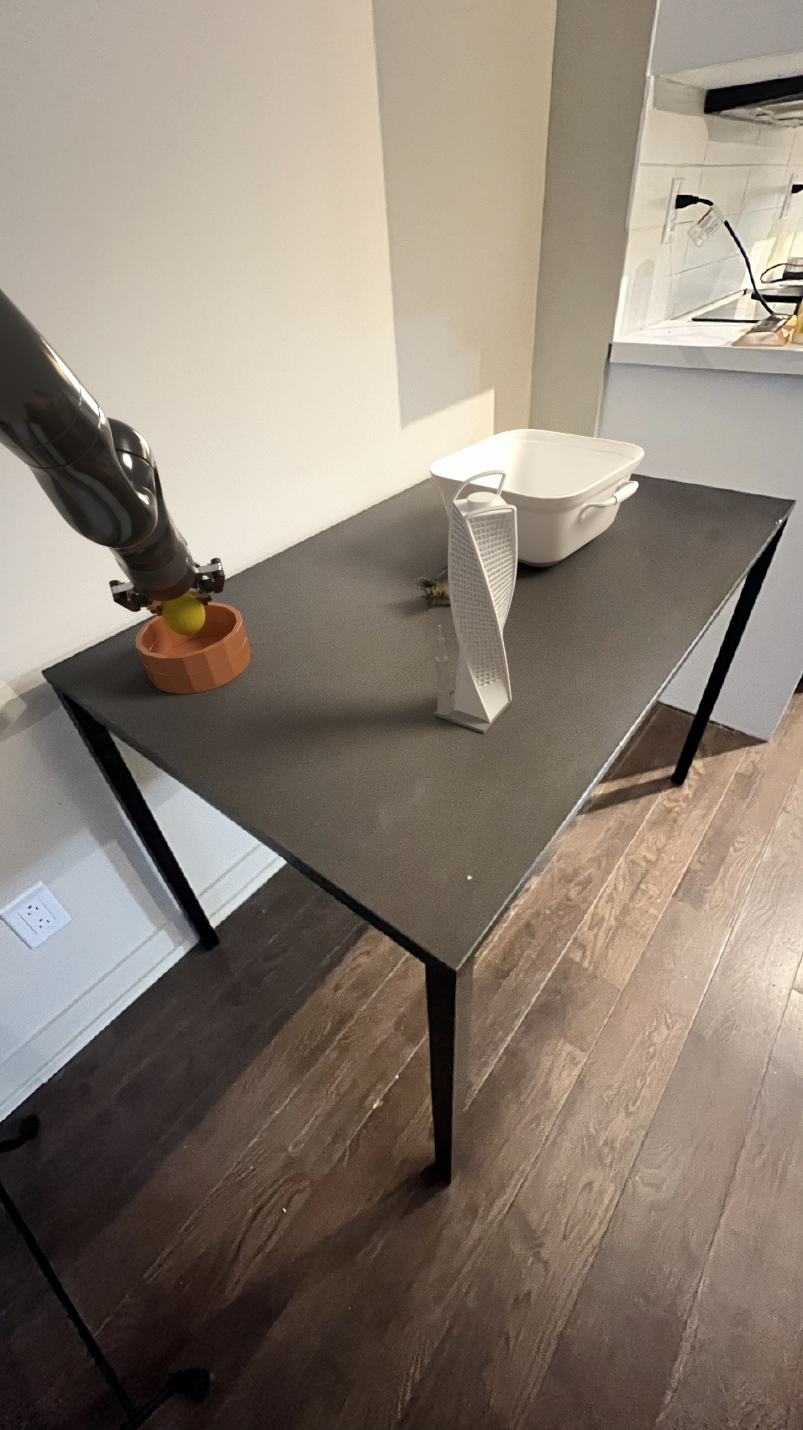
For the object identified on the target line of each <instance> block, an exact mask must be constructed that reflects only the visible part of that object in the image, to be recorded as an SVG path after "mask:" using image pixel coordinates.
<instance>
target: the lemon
mask: <svg viewBox="0 0 803 1430" xmlns="http://www.w3.org/2000/svg"><path fill="white" fill-rule="evenodd" d="M161 612H162V616H163V618H164V620H165V622H166V624H167V625H168V627H169V628H170V629H171V630H172V631H174V632H176V633H177V634H180V635H188V636H190V637H192V636H194V635H195V633H196V632H198V631H199V630H200V629H201V628H202V626H203V624H204V621H205V610H204V606H203V604H202V602H201V600H200V597H199V596H197V597H195V598H193V597H190V596H187V595H185V594H184V595H182V596H181V597H179V598H177V599H174V600H171V601H163V602H162V603H161Z"/></svg>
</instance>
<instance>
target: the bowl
mask: <svg viewBox="0 0 803 1430" xmlns="http://www.w3.org/2000/svg"><path fill="white" fill-rule="evenodd" d="M204 610H205V621H204V624H203V626H202V628H201V629H200V630H199V631H198V632H196V633H195V635H194V636H192V637H190V636H188V635H180V634H177V633H176V632H174V631H172V630H171V629H170V628H169V627H168V625H167V624H166V622H165V620H164V618H163V616H158V615H156V616H155V617H153V618H152V619H151V620H149V621H148V622H146V623H144V625H142V627H141V628H140V630H139V631H138V633H137V634H136V635H135V648H136V651H137V653H138V655H139V657H140V660H141V662H142V664H143V667H144V669H145V671H146V674H147V676H148V678H149V680H150V681H151V683H152V684H153V685H154V686H155V687H156V688H157V689H158V690H160V691H163V692H166V693H169V694H176V695H190V694H197V693H202V692H203V693H204V692H207V691H211V690H213V689H216V688H218V687H221V686H223V685H226V684H228V683H229V682H231V681H232V680H234V679H236V678H237V677H239V675H241V674H242V673H243V672H244V671H245V670H246V669H247V667H248V666H249V664H250V662H251V659H252V650H251V645H250V643H249V639H248V636H247V632H246V629H245V624H244V622H243V618H242V614H241V612H240V611H239V610H238V609H237V608H235V607H233V606H232V605H230V604H226V603H222V602H215V601H213V602H212V601H210V602H208V605H207V606H204Z"/></svg>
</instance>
